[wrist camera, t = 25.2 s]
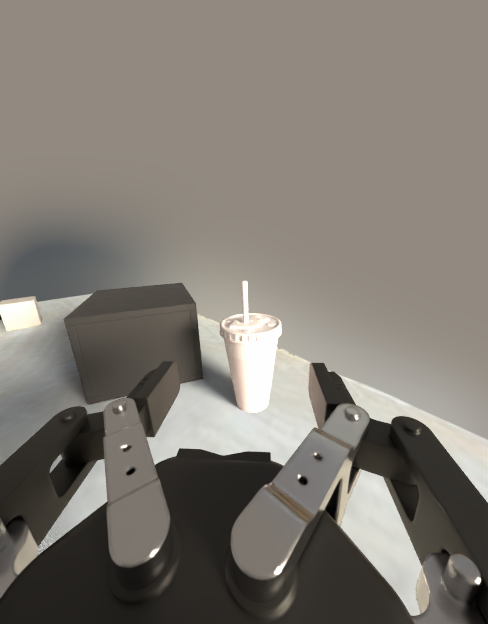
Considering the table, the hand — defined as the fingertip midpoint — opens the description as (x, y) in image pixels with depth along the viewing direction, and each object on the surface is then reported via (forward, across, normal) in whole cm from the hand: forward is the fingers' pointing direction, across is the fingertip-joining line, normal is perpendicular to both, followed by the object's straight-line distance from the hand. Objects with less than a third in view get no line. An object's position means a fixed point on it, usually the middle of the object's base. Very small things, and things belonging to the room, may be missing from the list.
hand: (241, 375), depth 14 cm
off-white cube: (+36, +56, +10) cm, 67 cm away
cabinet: (+19, +16, +10) cm, 27 cm away
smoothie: (+10, 0, +10) cm, 15 cm away
